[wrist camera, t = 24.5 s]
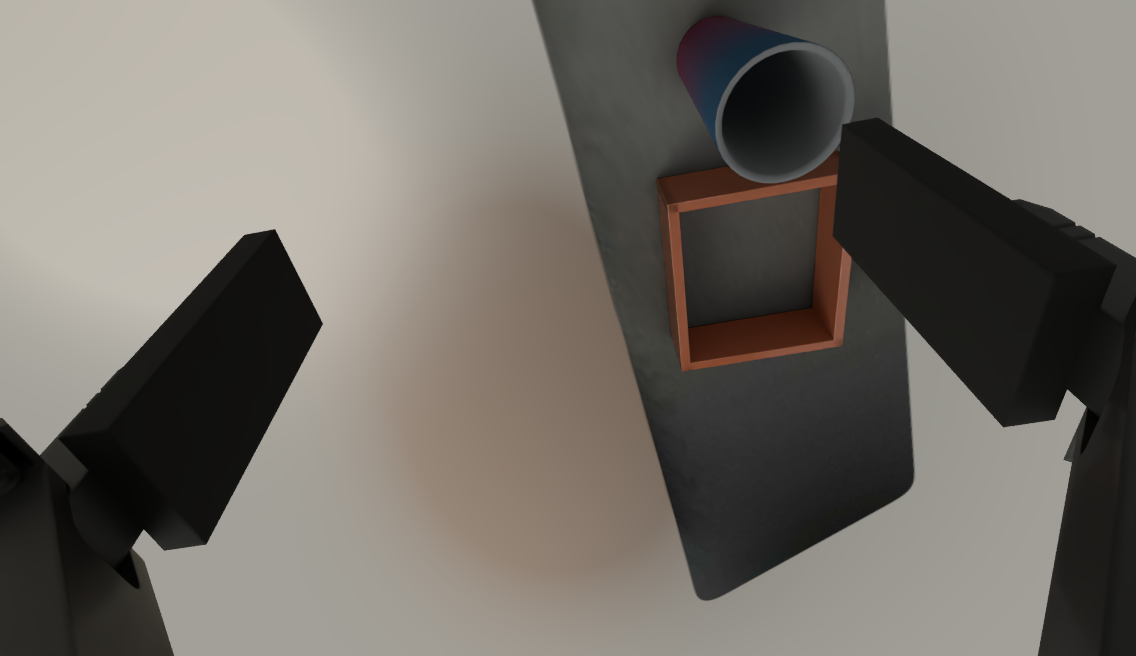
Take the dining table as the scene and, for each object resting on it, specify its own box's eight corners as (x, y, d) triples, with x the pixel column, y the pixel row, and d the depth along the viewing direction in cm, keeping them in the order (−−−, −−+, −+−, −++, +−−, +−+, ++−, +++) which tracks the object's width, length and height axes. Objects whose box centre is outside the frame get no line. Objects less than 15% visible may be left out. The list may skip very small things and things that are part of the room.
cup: (756, -13, 39) (855, 21, 27) (765, 91, 43) (855, 163, 31) (655, 18, 40) (706, 66, 28) (672, 117, 44) (724, 198, 32)
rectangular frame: (656, 178, 47) (667, 204, 42) (833, 146, 46) (861, 169, 42) (671, 337, 55) (681, 371, 51) (819, 313, 55) (842, 346, 50)
